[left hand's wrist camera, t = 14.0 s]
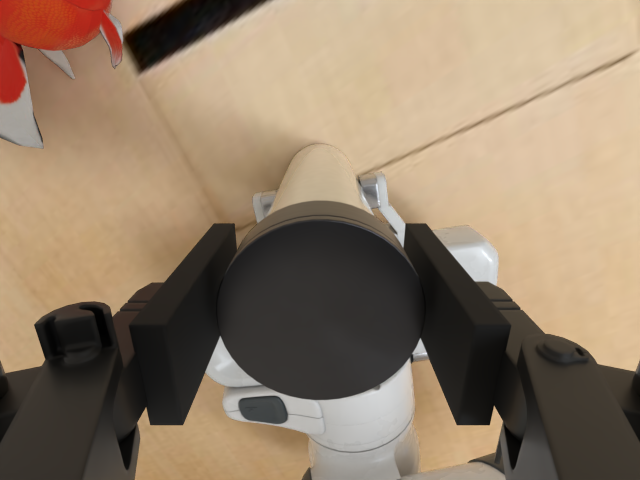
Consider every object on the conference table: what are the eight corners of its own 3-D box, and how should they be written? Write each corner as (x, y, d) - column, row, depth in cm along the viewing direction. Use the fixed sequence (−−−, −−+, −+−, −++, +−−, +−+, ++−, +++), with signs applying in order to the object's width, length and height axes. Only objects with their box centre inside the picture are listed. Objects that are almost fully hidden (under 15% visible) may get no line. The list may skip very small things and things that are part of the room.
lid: (445, 293, 12) (467, 327, 10) (313, 386, 13) (312, 430, 12) (330, 159, 10) (332, 171, 9) (193, 279, 12) (171, 311, 10)
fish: (201, 113, 22) (-11, 68, 13) (71, 175, 30) (-114, 172, 21) (163, -70, 22) (-82, -237, 13) (41, 43, 30) (-159, -14, 21)
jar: (366, 180, 28) (443, 317, 11) (317, 221, 29) (313, 405, 12) (323, 129, 27) (329, 188, 9) (273, 174, 28) (195, 303, 10)
